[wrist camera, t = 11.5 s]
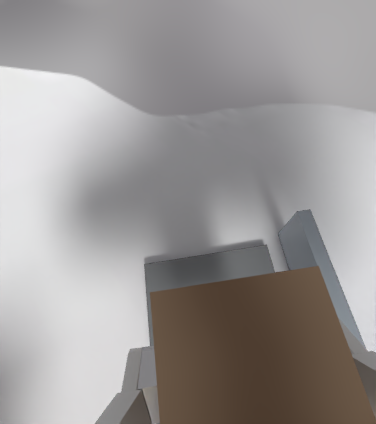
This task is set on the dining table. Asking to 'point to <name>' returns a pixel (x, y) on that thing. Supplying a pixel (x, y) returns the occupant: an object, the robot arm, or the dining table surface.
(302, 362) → the walnut block
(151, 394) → the robot arm
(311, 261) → the acrylic wall
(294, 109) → the dining table surface
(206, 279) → the felt pad
